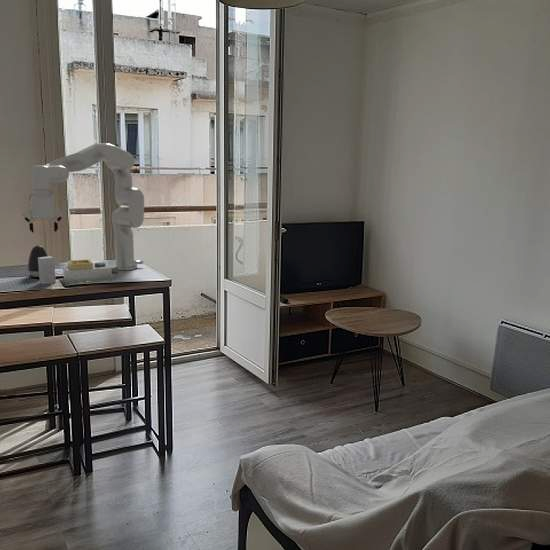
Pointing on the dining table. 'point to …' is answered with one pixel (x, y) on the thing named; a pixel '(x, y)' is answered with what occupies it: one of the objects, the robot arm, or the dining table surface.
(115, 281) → the dining table surface
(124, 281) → the dining table surface
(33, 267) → the smart speaker
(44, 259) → the skincare box
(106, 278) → the gearbox
